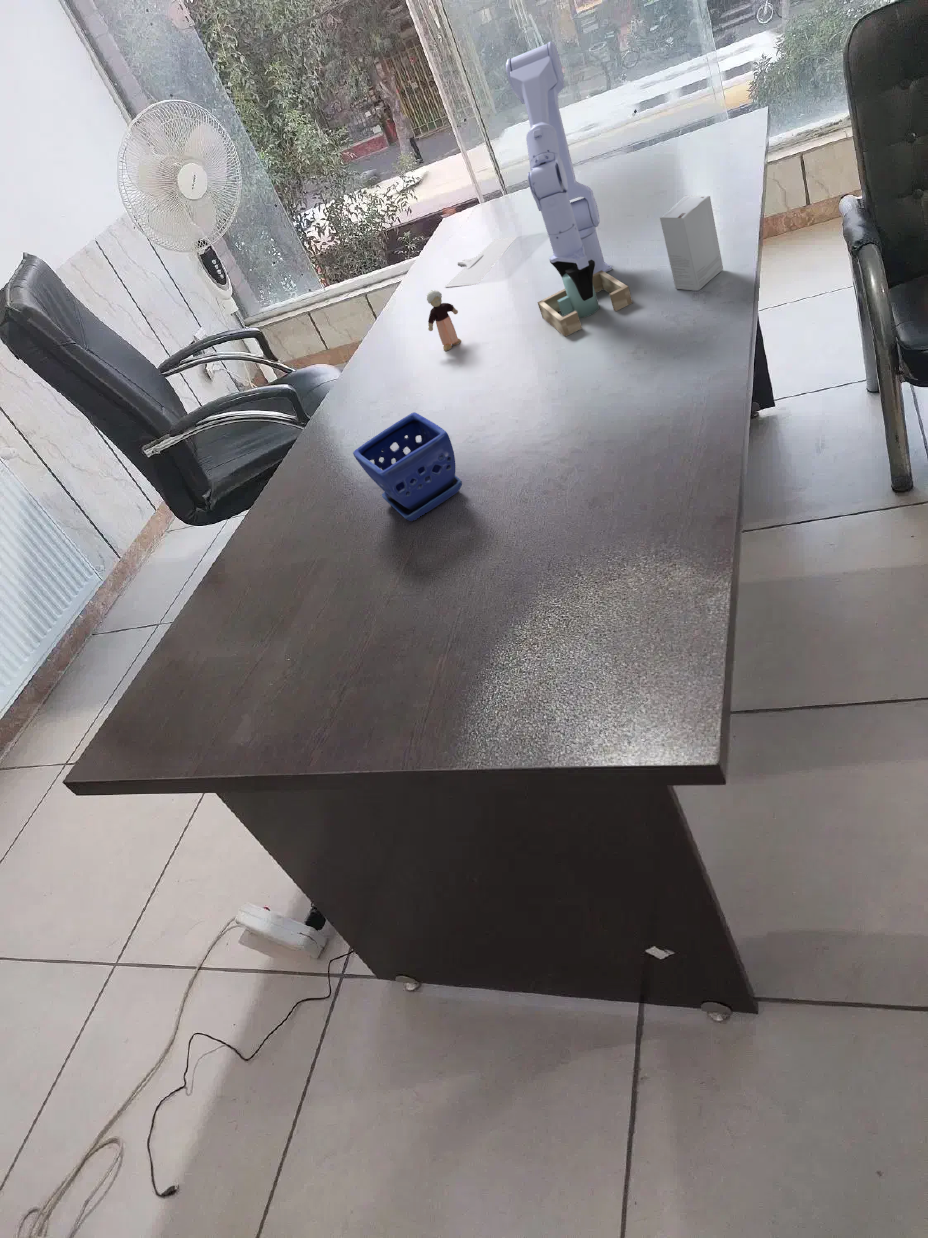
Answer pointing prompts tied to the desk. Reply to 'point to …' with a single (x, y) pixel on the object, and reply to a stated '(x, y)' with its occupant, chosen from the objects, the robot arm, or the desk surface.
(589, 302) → the teal cylinder with tab
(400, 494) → the flower pot
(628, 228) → the desk surface
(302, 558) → the desk surface
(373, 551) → the desk surface
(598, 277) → the cradle
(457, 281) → the white flat panel
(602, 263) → the robot arm
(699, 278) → the skincare box
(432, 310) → the grandmother figurine
